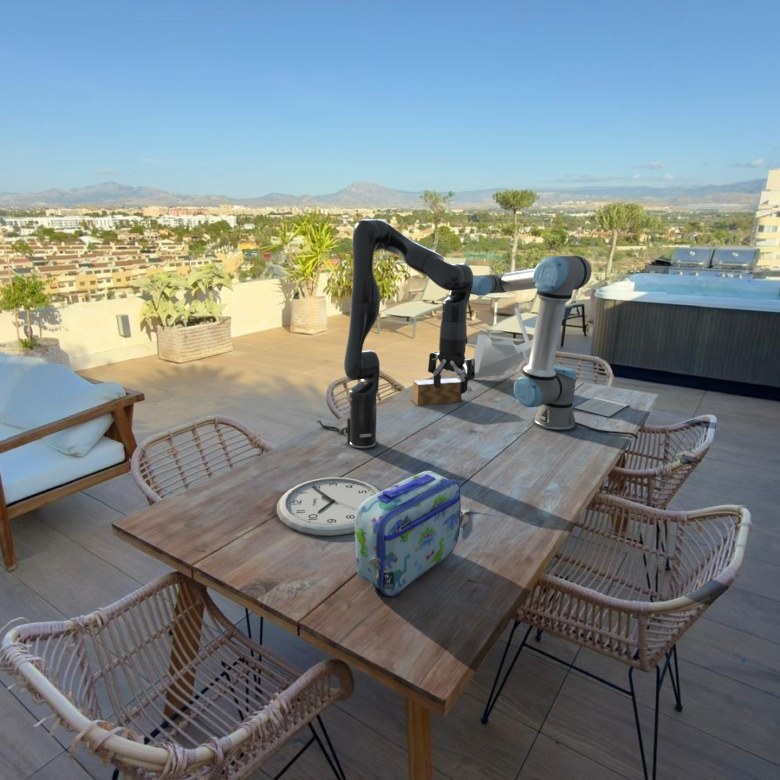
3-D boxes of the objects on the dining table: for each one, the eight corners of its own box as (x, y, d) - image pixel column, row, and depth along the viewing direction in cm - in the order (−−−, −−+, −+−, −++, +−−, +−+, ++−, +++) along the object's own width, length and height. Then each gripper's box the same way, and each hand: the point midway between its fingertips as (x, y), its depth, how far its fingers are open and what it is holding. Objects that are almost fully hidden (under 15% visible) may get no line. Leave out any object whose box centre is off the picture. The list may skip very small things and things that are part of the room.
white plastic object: (484, 420, 263) (463, 398, 239) (465, 347, 285) (445, 319, 261) (556, 396, 251) (542, 370, 226) (530, 322, 273) (515, 290, 248)
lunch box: (383, 609, 104) (384, 516, 98) (348, 583, 111) (347, 495, 105) (463, 555, 122) (469, 473, 115) (429, 536, 129) (432, 458, 123)
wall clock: (392, 527, 129) (268, 531, 127) (391, 533, 130) (269, 537, 127) (383, 473, 158) (282, 475, 155) (383, 478, 158) (282, 480, 156)
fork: (449, 533, 130) (450, 526, 130) (463, 503, 145) (463, 496, 144) (459, 535, 129) (460, 528, 129) (472, 505, 144) (473, 498, 143)
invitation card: (608, 416, 214) (573, 407, 224) (608, 416, 214) (573, 408, 224) (628, 404, 229) (594, 396, 238) (628, 405, 229) (594, 397, 238)
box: (455, 397, 235) (456, 378, 232) (461, 402, 229) (462, 381, 227) (413, 400, 230) (413, 380, 227) (417, 405, 224) (418, 384, 221)
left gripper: (424, 334, 150) (422, 388, 155) (468, 341, 142) (465, 398, 147) (438, 330, 156) (436, 383, 160) (481, 337, 148) (477, 392, 152)
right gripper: (438, 302, 230) (436, 349, 236) (460, 311, 207) (457, 363, 213) (454, 302, 232) (451, 348, 238) (477, 310, 209) (474, 362, 215)
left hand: (450, 390), depth 154 cm, fingers open, 8 cm apart
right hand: (454, 355), depth 225 cm, fingers open, 13 cm apart
